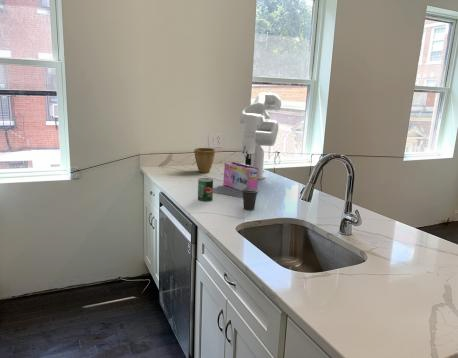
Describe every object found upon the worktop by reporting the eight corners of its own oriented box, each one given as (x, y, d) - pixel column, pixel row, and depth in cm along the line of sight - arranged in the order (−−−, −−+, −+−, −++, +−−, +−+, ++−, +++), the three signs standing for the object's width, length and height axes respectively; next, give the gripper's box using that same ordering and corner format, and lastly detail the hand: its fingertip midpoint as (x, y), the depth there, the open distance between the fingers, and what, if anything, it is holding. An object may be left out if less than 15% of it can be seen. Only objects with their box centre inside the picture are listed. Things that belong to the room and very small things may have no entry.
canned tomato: (210, 202, 198) (211, 181, 195) (195, 201, 199) (196, 180, 197) (214, 198, 205) (214, 178, 203) (200, 197, 207) (200, 177, 204)
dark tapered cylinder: (248, 205, 195) (249, 186, 193) (260, 209, 190) (261, 189, 188) (237, 208, 190) (238, 188, 188) (249, 212, 184) (250, 192, 182)
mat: (219, 186, 231) (219, 185, 231) (254, 192, 220) (254, 192, 220) (206, 191, 219) (206, 190, 219) (243, 198, 208) (243, 197, 208)
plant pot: (193, 169, 276) (193, 147, 273) (213, 169, 278) (214, 148, 274) (193, 173, 262) (194, 150, 258) (215, 174, 264) (216, 151, 260)
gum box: (221, 184, 236) (222, 162, 233) (231, 183, 241) (232, 161, 238) (247, 192, 218) (248, 169, 215) (257, 191, 223) (259, 168, 220)
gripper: (249, 133, 238) (248, 162, 242) (238, 135, 225) (236, 165, 229) (260, 134, 235) (258, 164, 238) (249, 136, 222) (247, 167, 226)
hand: (248, 164), depth 234 cm, fingers closed
